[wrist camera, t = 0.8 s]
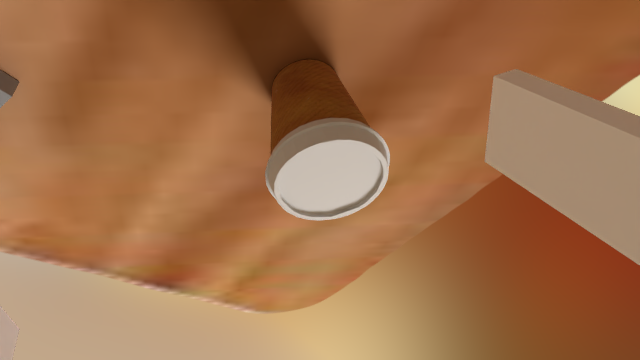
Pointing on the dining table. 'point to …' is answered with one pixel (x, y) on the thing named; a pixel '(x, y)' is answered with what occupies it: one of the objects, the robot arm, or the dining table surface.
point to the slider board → (6, 87)
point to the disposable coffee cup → (321, 146)
